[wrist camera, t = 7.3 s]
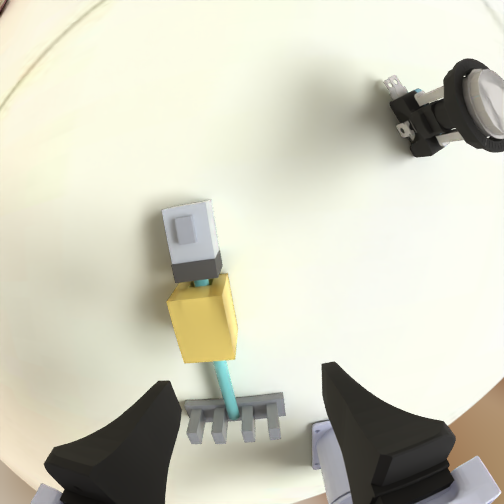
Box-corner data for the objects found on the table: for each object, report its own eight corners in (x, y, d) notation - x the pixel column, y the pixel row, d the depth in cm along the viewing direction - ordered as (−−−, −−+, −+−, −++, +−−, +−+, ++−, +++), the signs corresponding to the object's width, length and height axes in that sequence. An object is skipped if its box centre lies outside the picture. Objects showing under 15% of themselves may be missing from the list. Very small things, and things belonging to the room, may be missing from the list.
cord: (240, 412, 22) (239, 419, 21) (229, 413, 22) (228, 420, 21) (201, 235, 19) (198, 238, 18) (187, 237, 19) (183, 240, 18)
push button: (359, 93, 17) (432, 39, 8) (405, 72, 17) (481, 27, 7) (403, 169, 19) (497, 168, 9) (445, 142, 18) (533, 133, 8)
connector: (219, 249, 20) (213, 260, 17) (181, 254, 20) (169, 267, 17) (211, 199, 19) (203, 202, 16) (172, 206, 19) (158, 210, 16)
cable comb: (284, 409, 24) (289, 440, 20) (192, 416, 24) (185, 446, 20) (282, 392, 23) (287, 423, 19) (185, 400, 23) (177, 430, 19)
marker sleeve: (237, 328, 21) (235, 359, 17) (195, 332, 21) (184, 363, 17) (227, 273, 20) (221, 295, 16) (182, 279, 20) (166, 301, 16)
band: (222, 265, 20) (218, 277, 18) (185, 270, 20) (175, 283, 18) (219, 249, 20) (214, 259, 17) (181, 254, 20) (171, 265, 17)
